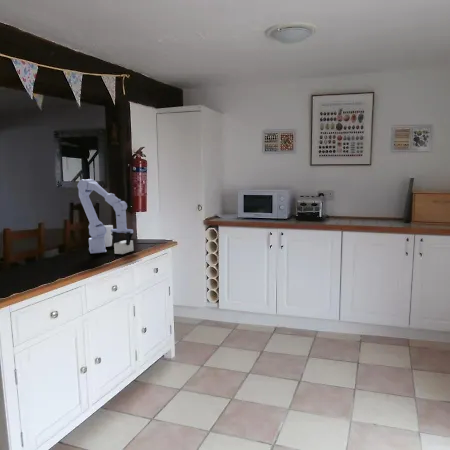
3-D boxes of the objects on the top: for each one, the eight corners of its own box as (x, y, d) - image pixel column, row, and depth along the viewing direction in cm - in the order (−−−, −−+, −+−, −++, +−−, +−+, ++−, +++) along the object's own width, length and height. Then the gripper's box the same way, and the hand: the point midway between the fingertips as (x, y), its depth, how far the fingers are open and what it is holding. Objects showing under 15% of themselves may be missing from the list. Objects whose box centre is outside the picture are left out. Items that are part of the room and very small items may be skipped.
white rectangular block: (125, 250, 254) (124, 240, 253) (133, 250, 251) (132, 240, 251) (114, 253, 244) (113, 243, 243) (123, 253, 242) (122, 243, 241)
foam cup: (111, 246, 267) (110, 226, 266) (97, 247, 268) (95, 227, 266) (115, 244, 277) (114, 224, 275) (102, 244, 277) (100, 225, 275)
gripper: (135, 221, 246) (137, 244, 247) (115, 221, 251) (116, 243, 253) (128, 222, 239) (130, 246, 241) (107, 222, 244) (109, 245, 246)
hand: (122, 244), depth 246 cm, fingers open, 7 cm apart
